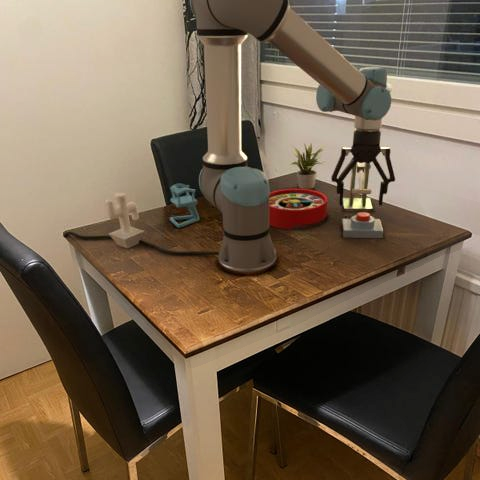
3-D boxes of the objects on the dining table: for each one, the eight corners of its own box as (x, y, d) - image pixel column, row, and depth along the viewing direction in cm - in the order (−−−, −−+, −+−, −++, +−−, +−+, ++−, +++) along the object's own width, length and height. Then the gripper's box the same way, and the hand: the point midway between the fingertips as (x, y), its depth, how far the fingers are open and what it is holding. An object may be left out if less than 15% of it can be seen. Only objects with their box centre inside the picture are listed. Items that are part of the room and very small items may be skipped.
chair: (202, 222, 155) (199, 184, 148) (178, 228, 152) (173, 189, 145) (193, 215, 160) (190, 178, 154) (169, 220, 157) (164, 183, 151)
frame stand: (372, 212, 157) (377, 165, 149) (343, 211, 158) (347, 165, 150) (369, 201, 165) (374, 156, 157) (342, 201, 166) (345, 156, 158)
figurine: (149, 241, 144) (141, 191, 136) (123, 252, 138) (114, 200, 130) (132, 236, 148) (124, 186, 140) (107, 246, 142) (97, 196, 134)
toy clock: (261, 189, 161) (323, 187, 160) (262, 206, 164) (322, 205, 164) (263, 211, 144) (331, 209, 144) (263, 230, 148) (330, 228, 147)
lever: (370, 196, 149) (371, 190, 147) (351, 196, 150) (352, 190, 148) (368, 166, 156) (369, 160, 154) (351, 166, 156) (352, 160, 154)
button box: (343, 237, 141) (344, 224, 139) (341, 225, 148) (342, 212, 146) (382, 238, 139) (384, 224, 137) (379, 226, 147) (380, 213, 145)
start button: (356, 222, 141) (357, 216, 140) (356, 217, 144) (356, 211, 143) (369, 222, 140) (370, 216, 139) (368, 217, 143) (369, 212, 142)
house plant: (333, 195, 171) (336, 147, 163) (294, 198, 170) (295, 150, 161) (321, 183, 183) (324, 137, 175) (285, 186, 182) (285, 140, 173)
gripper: (408, 125, 140) (398, 200, 152) (325, 126, 143) (321, 199, 155) (412, 131, 134) (401, 208, 146) (325, 132, 137) (321, 207, 149)
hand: (360, 204), depth 151 cm, fingers open, 11 cm apart
